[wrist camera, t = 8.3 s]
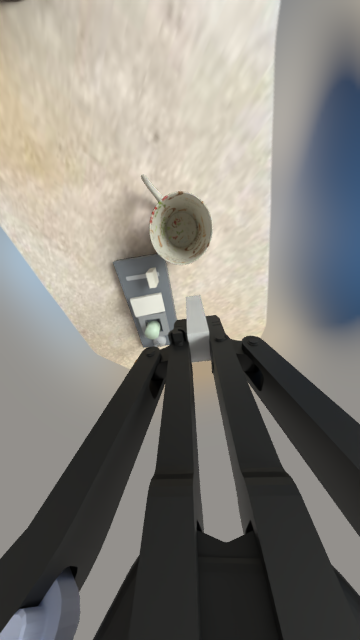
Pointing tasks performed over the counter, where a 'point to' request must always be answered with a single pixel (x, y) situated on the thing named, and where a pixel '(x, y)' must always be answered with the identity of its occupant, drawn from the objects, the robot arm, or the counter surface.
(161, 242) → the mug
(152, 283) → the slider
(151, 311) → the plate
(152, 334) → the button
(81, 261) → the counter surface
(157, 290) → the panel
